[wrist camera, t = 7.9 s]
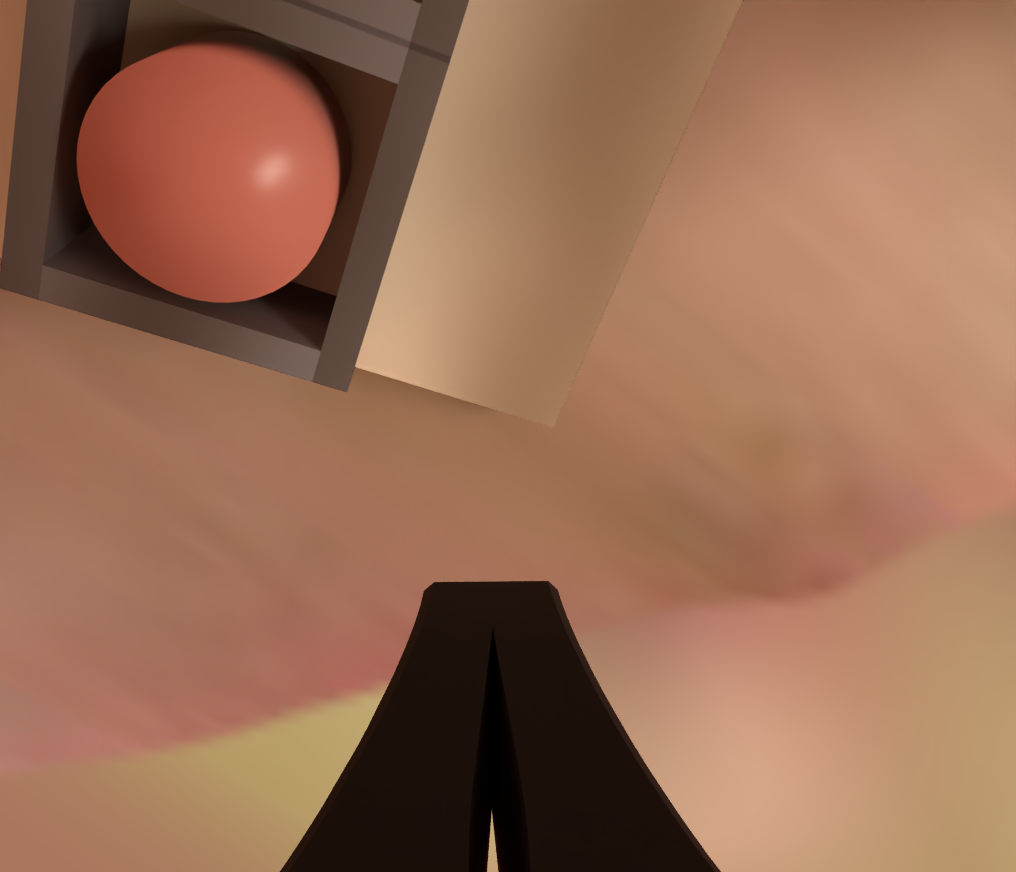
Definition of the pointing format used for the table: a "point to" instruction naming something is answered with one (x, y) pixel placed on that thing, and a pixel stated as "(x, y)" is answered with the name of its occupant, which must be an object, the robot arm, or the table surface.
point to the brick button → (215, 165)
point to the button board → (388, 179)
